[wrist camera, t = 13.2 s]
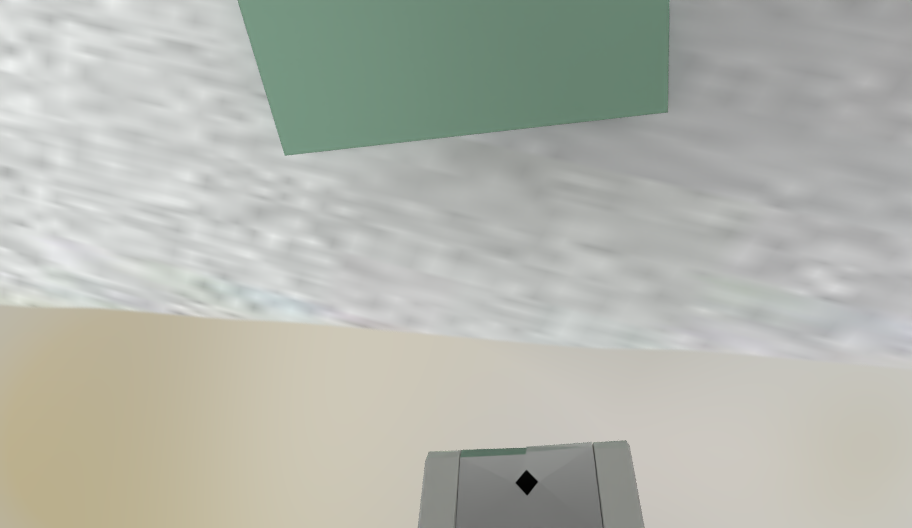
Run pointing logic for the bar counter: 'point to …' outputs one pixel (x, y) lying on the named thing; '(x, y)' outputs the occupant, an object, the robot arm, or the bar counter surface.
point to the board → (453, 66)
